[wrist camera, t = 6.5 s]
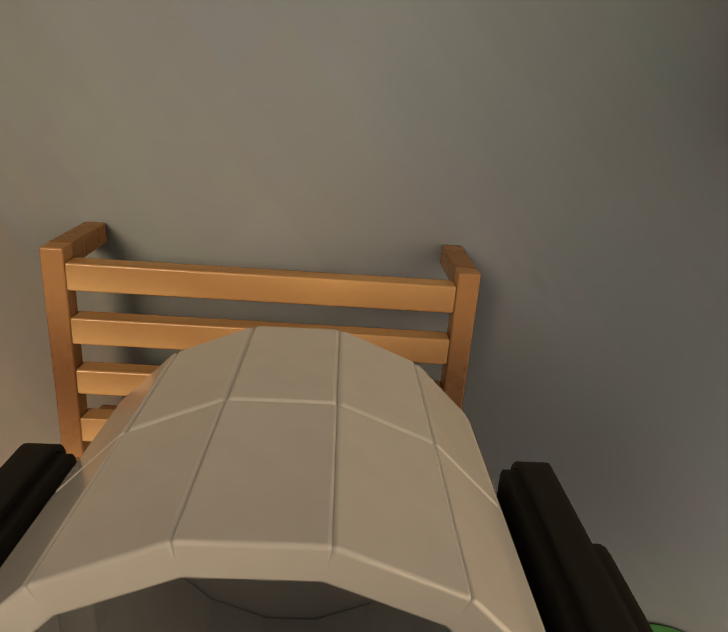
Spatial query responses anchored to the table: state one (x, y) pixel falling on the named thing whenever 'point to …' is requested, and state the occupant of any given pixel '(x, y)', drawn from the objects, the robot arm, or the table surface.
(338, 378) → the white cup
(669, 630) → the tape roll
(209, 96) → the table surface
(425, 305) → the rack
